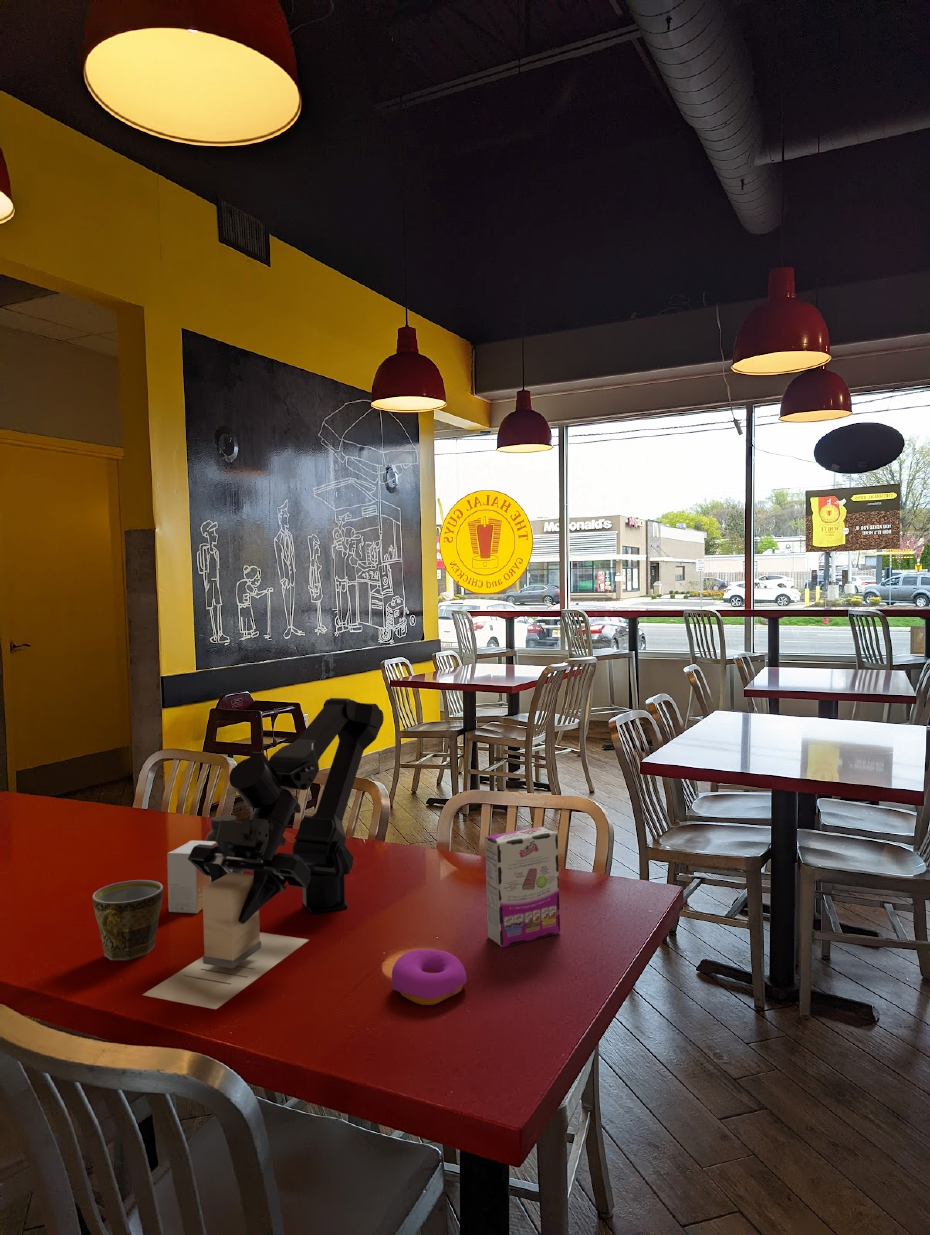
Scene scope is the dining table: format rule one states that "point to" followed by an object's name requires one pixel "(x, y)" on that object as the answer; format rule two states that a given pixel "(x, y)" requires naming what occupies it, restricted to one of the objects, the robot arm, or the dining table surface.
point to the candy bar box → (522, 885)
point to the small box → (185, 880)
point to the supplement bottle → (213, 834)
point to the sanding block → (228, 921)
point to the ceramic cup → (128, 917)
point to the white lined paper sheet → (224, 975)
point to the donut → (428, 976)
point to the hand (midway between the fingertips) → (225, 920)
